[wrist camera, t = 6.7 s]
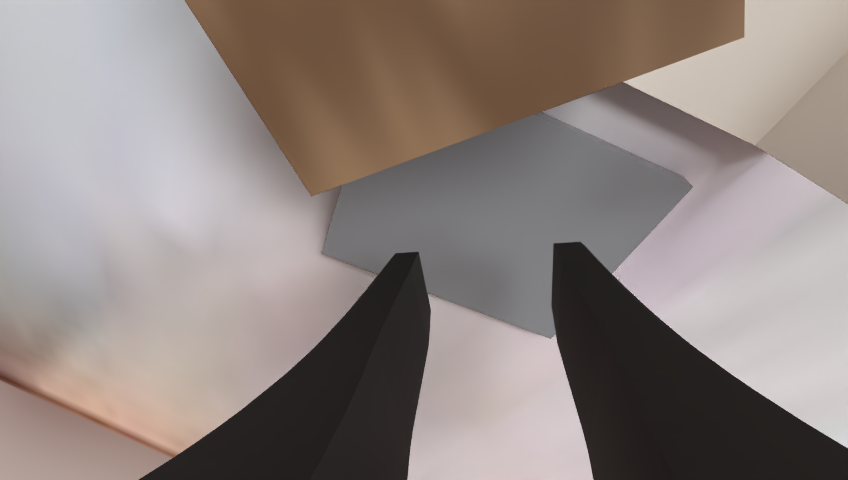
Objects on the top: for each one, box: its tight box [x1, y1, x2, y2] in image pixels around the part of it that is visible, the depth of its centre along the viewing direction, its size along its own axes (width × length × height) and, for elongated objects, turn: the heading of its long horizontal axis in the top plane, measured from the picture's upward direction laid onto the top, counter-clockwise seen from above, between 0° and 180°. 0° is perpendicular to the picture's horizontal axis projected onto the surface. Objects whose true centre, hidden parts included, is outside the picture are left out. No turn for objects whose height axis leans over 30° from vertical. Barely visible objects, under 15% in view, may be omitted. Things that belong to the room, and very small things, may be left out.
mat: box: [322, 112, 693, 339], centre depth 12 cm, size 9×7×1 cm
